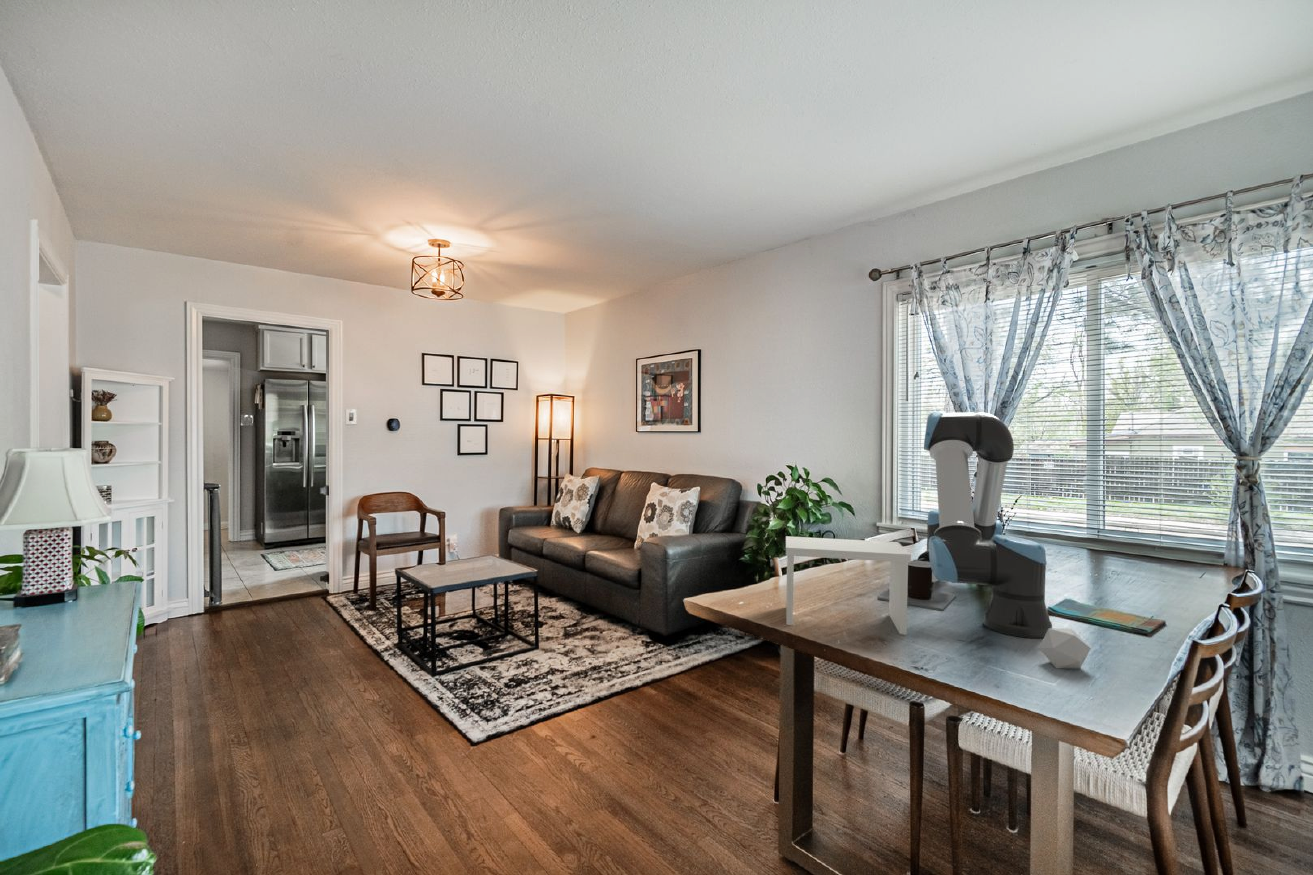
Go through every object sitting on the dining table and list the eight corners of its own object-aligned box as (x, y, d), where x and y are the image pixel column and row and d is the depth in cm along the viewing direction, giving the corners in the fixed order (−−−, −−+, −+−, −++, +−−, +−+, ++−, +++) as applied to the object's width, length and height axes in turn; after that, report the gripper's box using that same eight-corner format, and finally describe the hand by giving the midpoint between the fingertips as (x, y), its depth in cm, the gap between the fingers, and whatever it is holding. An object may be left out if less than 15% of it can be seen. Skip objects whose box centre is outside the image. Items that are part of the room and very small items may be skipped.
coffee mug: (929, 602, 176) (930, 568, 176) (899, 596, 182) (900, 563, 182) (942, 595, 185) (943, 562, 185) (913, 589, 191) (913, 557, 190)
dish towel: (1065, 605, 180) (1065, 596, 180) (1166, 626, 162) (1166, 616, 162) (1043, 615, 170) (1043, 606, 170) (1149, 639, 151) (1149, 629, 151)
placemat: (956, 597, 185) (956, 595, 185) (943, 610, 170) (943, 608, 170) (894, 587, 196) (894, 585, 196) (877, 599, 181) (877, 597, 181)
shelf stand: (784, 606, 172) (785, 536, 172) (896, 614, 166) (898, 542, 166) (784, 625, 156) (786, 547, 155) (908, 635, 149) (910, 554, 149)
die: (1089, 680, 125) (1103, 639, 128) (1049, 656, 127) (1064, 616, 130) (1063, 679, 133) (1077, 640, 136) (1026, 656, 135) (1041, 618, 137)
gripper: (970, 579, 191) (955, 593, 173) (895, 568, 204) (875, 580, 186) (970, 555, 191) (956, 567, 173) (896, 545, 204) (875, 556, 186)
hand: (914, 574), depth 180 cm, fingers open, 10 cm apart
